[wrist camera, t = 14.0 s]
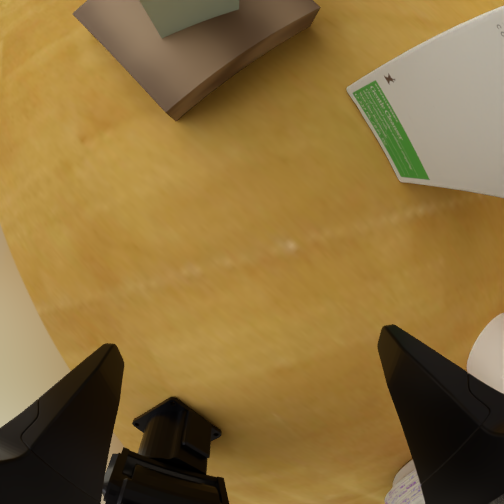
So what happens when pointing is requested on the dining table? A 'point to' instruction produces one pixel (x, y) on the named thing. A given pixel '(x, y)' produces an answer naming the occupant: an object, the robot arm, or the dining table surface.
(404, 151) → the skincare box
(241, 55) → the walnut block
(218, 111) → the dining table surface
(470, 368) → the base with upright slab
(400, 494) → the paper bowls
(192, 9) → the sage pillar block
